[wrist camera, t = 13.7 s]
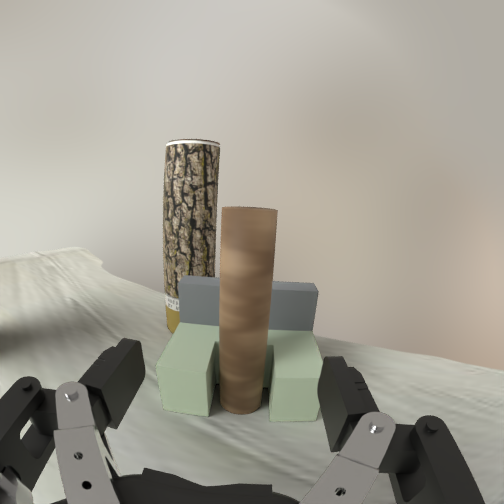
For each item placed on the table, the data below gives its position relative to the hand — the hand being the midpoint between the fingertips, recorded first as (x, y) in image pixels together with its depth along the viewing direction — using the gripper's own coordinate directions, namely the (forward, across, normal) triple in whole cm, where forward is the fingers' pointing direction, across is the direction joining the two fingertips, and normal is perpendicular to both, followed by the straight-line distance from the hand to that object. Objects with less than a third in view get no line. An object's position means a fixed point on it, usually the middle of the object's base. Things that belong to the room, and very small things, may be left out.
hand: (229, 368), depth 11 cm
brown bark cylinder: (+24, +8, +12) cm, 28 cm away
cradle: (+12, 0, +12) cm, 17 cm away
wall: (+17, 0, +12) cm, 21 cm away
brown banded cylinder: (+10, 0, +12) cm, 16 cm away
